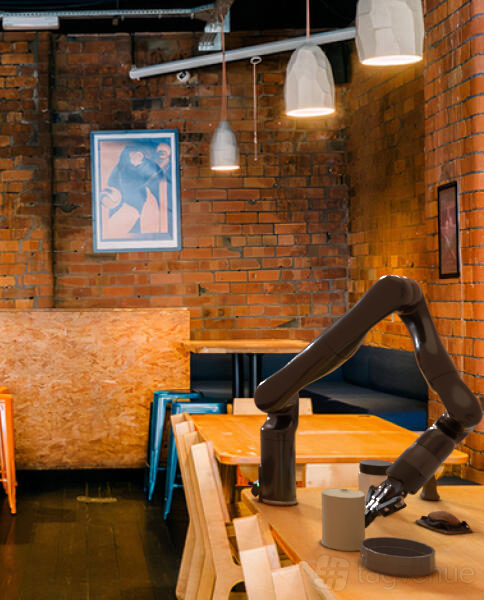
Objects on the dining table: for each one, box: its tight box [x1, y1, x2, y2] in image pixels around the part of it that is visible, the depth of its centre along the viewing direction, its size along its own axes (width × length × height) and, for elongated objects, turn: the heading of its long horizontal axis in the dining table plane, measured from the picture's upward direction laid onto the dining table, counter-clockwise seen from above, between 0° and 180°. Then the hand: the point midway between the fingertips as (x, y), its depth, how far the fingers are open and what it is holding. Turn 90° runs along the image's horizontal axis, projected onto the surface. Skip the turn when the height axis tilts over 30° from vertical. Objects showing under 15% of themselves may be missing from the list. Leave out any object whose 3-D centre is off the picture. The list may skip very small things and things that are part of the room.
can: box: [320, 487, 366, 552], centre depth 176 cm, size 9×9×12 cm
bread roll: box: [414, 510, 473, 535], centre depth 189 cm, size 11×8×4 cm
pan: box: [359, 536, 437, 578], centre depth 161 cm, size 14×14×4 cm
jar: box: [357, 459, 394, 510], centre depth 207 cm, size 9×8×12 cm
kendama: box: [415, 425, 441, 501], centre depth 217 cm, size 6×10×20 cm, turn 165°
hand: (360, 524), depth 176 cm, fingers closed
